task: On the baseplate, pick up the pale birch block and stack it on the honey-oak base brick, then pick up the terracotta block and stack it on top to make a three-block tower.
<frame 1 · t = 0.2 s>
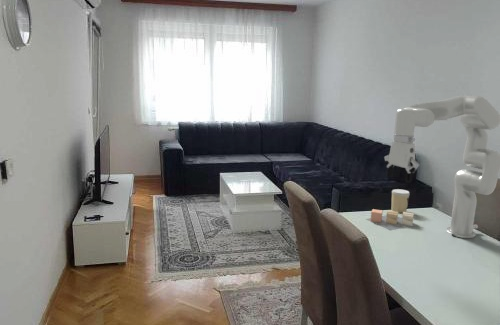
hand: (399, 179, 166), 31 cm above the table, fingers open, 9 cm apart
birch block: (407, 223, 201), point 1 cm above the table, touching baseplate
terracotta block: (376, 220, 204), point 1 cm above the table, touching baseplate
baseplate: (391, 223, 203), on the table
oak base brick: (391, 221, 203), point 1 cm above the table, touching baseplate
coffee cup: (398, 212, 222), on the table
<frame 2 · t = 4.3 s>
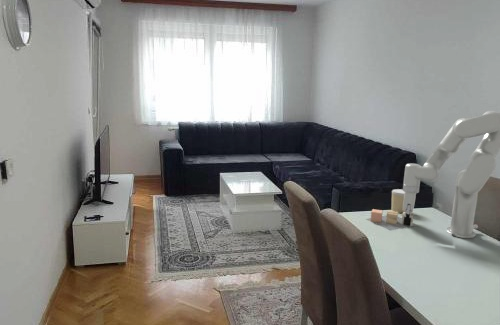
hand: (407, 222, 201), 1 cm above the table, fingers closed on birch block, 4 cm apart
birch block: (407, 223, 201), point 1 cm above the table, touching baseplate, gripper
everything else where it was.
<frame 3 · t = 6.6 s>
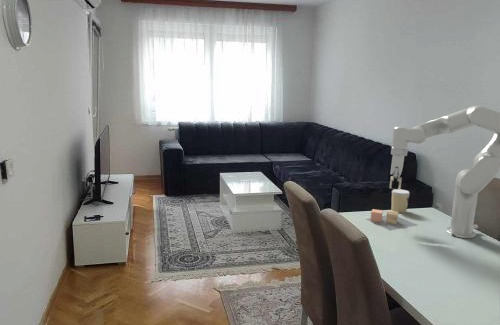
hand: (395, 186, 199), 20 cm above the table, fingers closed on birch block, 4 cm apart
birch block: (395, 187, 199), point 19 cm above the table, touching gripper
everything else where it was.
when the fingers open (8 cm above the table, at t = 9.1 s): birch block drops 1 cm, resting on oak base brick.
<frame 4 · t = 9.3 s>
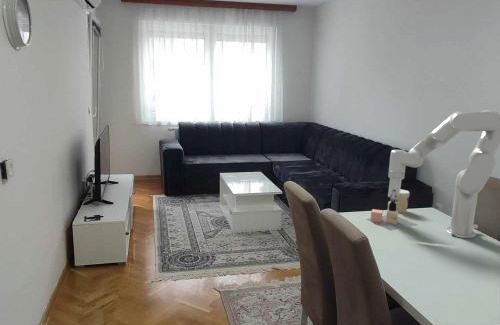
hand: (392, 208, 201), 8 cm above the table, fingers open, 7 cm apart
birch block: (392, 212, 201), point 6 cm above the table, touching oak base brick
oak base brick: (391, 221, 203), point 1 cm above the table, touching baseplate, birch block
everything else where it was.
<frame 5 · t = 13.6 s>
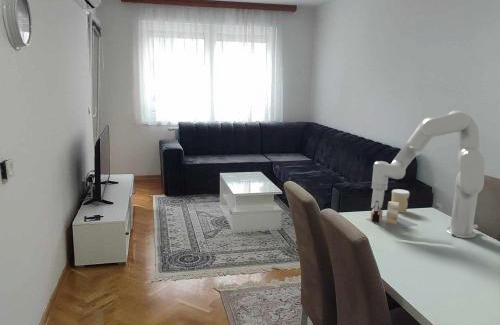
hand: (376, 219, 204), 1 cm above the table, fingers closed on terracotta block, 4 cm apart
terracotta block: (376, 220, 204), point 1 cm above the table, touching baseplate, gripper
everything else where it was.
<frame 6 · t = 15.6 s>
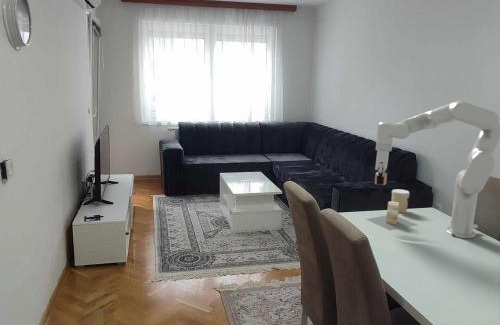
hand: (380, 182, 200), 21 cm above the table, fingers closed on terracotta block, 4 cm apart
terracotta block: (380, 183, 200), point 21 cm above the table, touching gripper
everything else where it was.
when the fingers open (13 cm above the table, at t = 18.0 s): terracotta block drops 1 cm, resting on birch block.
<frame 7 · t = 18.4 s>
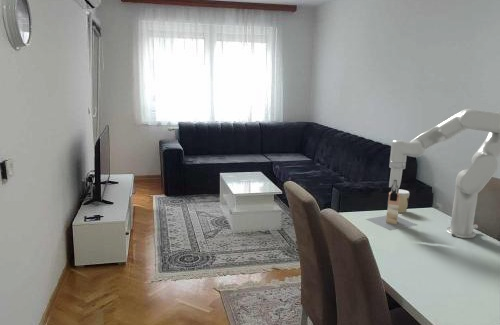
hand: (394, 198, 200), 14 cm above the table, fingers open, 8 cm apart
birch block: (392, 212, 201), point 6 cm above the table, touching oak base brick, terracotta block
terracotta block: (393, 203, 200), point 11 cm above the table, touching birch block
everything else where it was.
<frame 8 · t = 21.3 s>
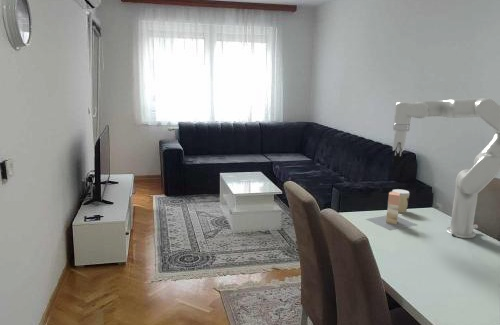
hand: (397, 162, 196), 32 cm above the table, fingers open, 9 cm apart
nothing on the table moved.
at the end: birch block 0.1 cm off-centre on the oak base brick, point 5.0 cm above the oak base brick's base; terracotta block 0.0 cm off-centre on the oak base brick, point 10.0 cm above the oak base brick's base; terracotta block tilted 0° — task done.
